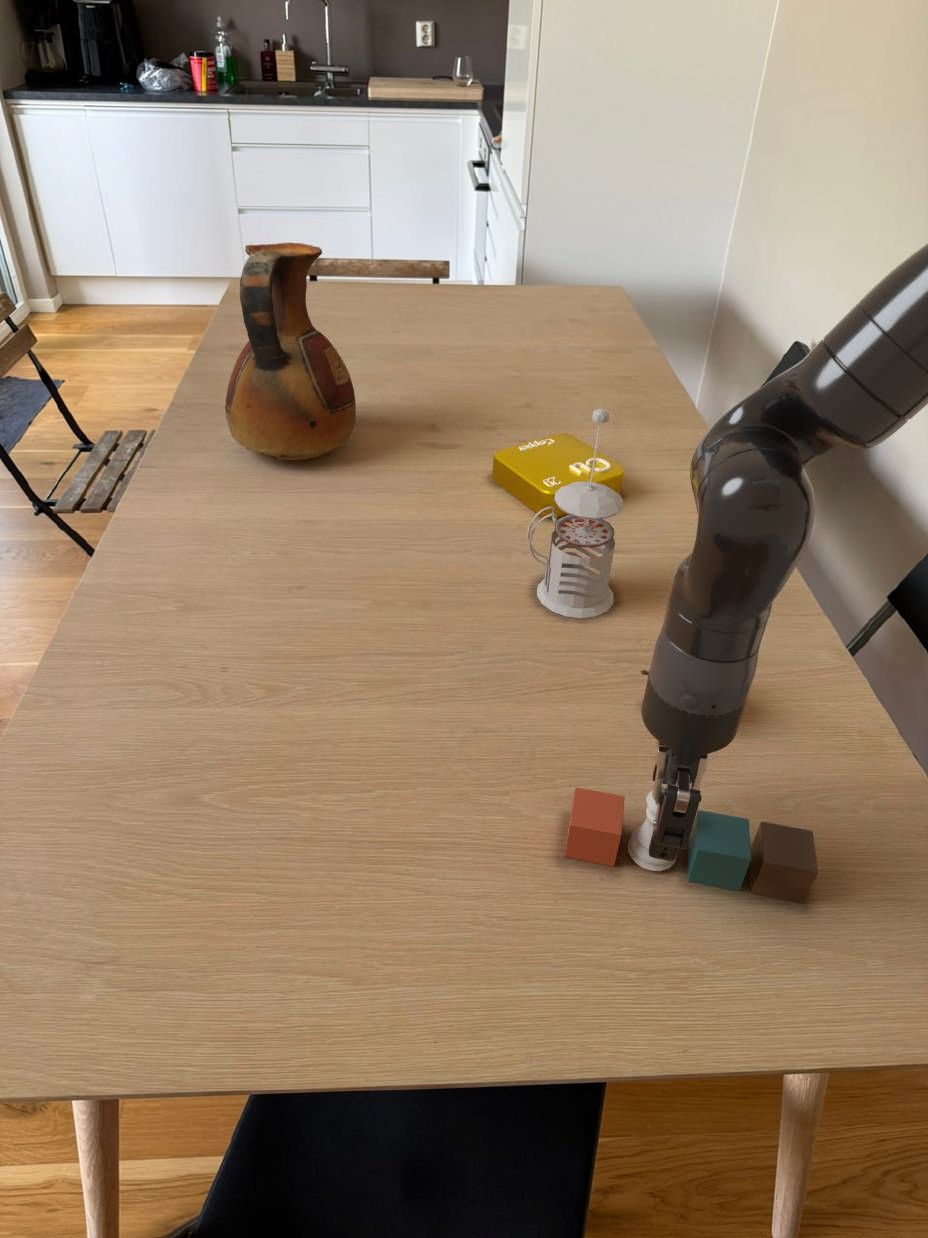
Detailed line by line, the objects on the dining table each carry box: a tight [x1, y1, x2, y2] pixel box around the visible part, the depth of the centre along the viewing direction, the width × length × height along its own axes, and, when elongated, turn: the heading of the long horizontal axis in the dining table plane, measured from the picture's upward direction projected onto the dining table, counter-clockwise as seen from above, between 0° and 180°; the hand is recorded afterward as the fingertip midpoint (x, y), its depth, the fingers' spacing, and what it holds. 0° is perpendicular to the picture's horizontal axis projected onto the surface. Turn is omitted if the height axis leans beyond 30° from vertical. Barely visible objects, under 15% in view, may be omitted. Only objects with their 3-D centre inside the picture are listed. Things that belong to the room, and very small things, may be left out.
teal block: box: [687, 809, 752, 892], centre depth 79 cm, size 4×4×4 cm
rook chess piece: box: [627, 784, 679, 872], centre depth 78 cm, size 4×4×8 cm
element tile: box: [491, 432, 625, 519], centre depth 132 cm, size 15×15×5 cm
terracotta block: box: [564, 787, 626, 868], centre depth 80 cm, size 4×4×4 cm
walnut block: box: [749, 821, 819, 904], centre depth 78 cm, size 4×4×4 cm
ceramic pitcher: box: [224, 242, 357, 461], centre depth 132 cm, size 20×20×30 cm
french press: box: [526, 408, 624, 619], centre depth 104 cm, size 10×12×25 cm
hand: (662, 816), depth 78 cm, fingers open, 8 cm apart
